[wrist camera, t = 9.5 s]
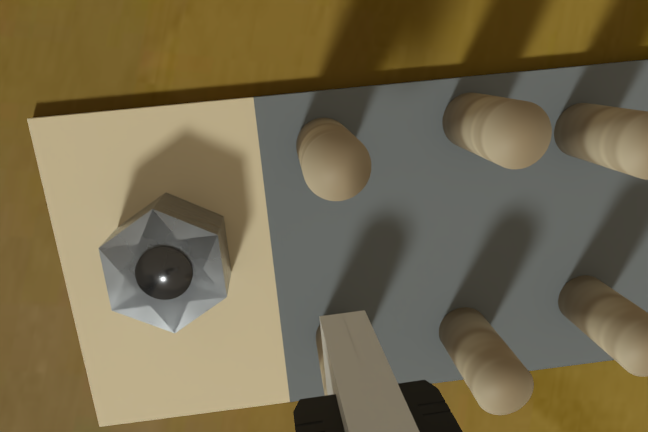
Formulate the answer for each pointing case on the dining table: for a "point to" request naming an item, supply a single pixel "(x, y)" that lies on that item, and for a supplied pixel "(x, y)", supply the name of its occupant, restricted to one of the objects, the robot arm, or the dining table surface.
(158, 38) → the dining table surface
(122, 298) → the nut
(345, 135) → the pegs
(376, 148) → the mat
